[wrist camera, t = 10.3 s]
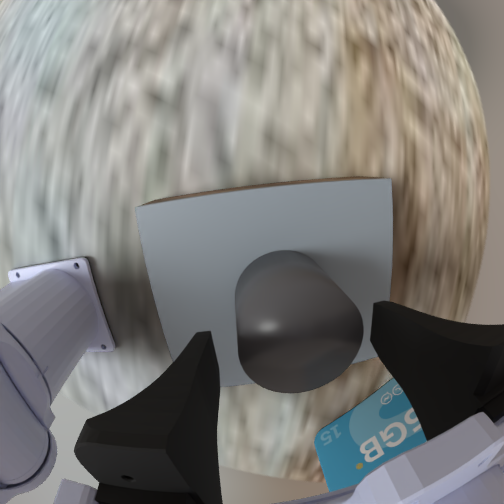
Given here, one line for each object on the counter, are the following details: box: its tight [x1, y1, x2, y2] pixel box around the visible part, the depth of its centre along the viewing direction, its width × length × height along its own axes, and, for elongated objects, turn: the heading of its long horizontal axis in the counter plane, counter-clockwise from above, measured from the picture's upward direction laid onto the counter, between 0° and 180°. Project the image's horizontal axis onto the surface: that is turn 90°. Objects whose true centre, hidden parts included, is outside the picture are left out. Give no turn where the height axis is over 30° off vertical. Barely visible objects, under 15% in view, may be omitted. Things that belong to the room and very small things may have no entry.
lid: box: [135, 178, 393, 387], centre depth 16 cm, size 14×12×1 cm
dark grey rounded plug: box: [235, 250, 364, 393], centre depth 13 cm, size 5×5×5 cm
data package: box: [314, 378, 427, 492], centre depth 19 cm, size 12×4×12 cm, turn 131°
